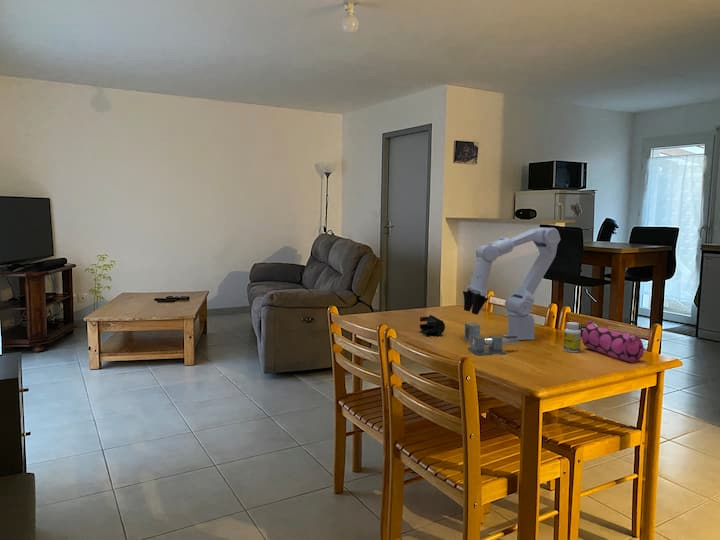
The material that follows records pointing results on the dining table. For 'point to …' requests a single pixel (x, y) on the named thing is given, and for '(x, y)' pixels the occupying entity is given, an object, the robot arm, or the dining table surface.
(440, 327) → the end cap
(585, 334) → the pencil case
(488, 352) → the shaft stand
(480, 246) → the robot arm
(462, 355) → the dining table surface
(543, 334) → the dining table surface
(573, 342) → the supplement bottle
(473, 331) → the collar
